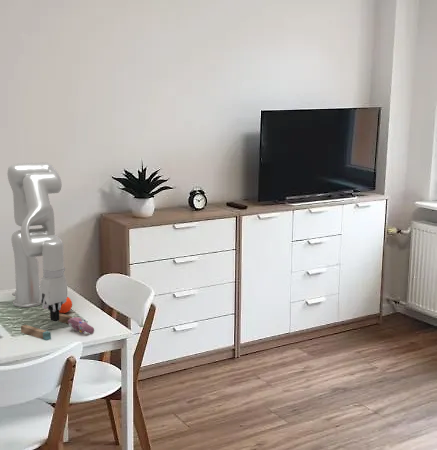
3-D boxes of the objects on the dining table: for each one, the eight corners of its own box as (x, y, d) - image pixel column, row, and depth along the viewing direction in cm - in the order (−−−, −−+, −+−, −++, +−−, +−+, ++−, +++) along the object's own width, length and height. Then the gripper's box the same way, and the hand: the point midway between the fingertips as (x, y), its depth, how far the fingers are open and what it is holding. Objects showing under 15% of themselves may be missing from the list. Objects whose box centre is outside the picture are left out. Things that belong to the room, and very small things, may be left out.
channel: (21, 332, 253) (20, 325, 253) (60, 319, 268) (60, 313, 268) (46, 340, 245) (46, 333, 245) (85, 326, 261) (85, 320, 260)
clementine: (49, 313, 275) (48, 296, 274) (58, 309, 282) (58, 292, 280) (66, 316, 273) (65, 299, 271) (75, 311, 279) (75, 294, 278)
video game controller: (71, 333, 257) (63, 319, 254) (79, 325, 260) (72, 311, 257) (87, 339, 251) (80, 325, 248) (96, 331, 254) (88, 317, 250)
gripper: (62, 267, 261) (63, 313, 264) (30, 275, 249) (32, 323, 252) (75, 270, 256) (76, 317, 260) (44, 279, 244) (46, 328, 248)
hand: (54, 320), depth 256 cm, fingers closed
